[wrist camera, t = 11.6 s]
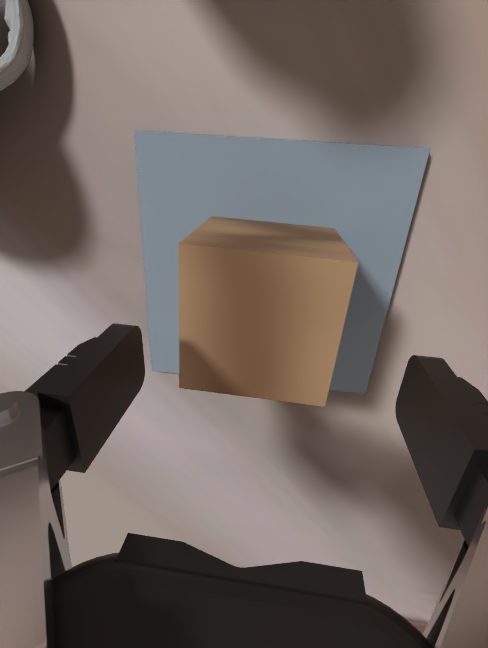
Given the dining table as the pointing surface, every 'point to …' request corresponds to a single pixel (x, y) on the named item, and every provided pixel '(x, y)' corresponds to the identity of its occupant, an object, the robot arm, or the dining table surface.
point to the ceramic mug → (16, 41)
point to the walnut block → (262, 308)
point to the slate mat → (278, 220)
